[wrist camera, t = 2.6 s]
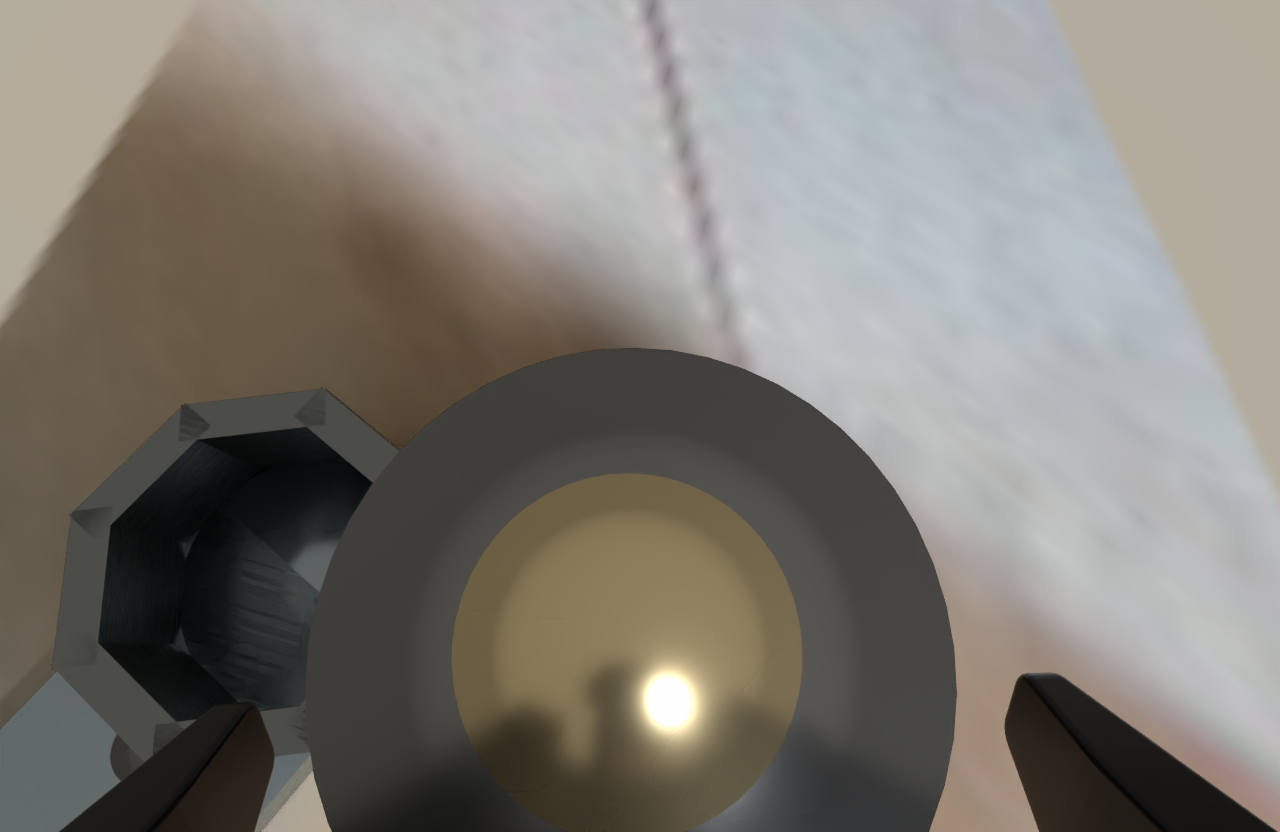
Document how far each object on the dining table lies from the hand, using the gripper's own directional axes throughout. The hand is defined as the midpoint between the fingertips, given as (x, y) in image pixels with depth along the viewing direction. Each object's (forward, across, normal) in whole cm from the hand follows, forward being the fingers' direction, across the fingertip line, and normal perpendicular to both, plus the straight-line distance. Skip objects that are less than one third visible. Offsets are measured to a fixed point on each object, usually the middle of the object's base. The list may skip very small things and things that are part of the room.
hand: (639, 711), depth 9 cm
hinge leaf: (+6, +10, +6) cm, 13 cm away
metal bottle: (+6, 0, +6) cm, 8 cm away
